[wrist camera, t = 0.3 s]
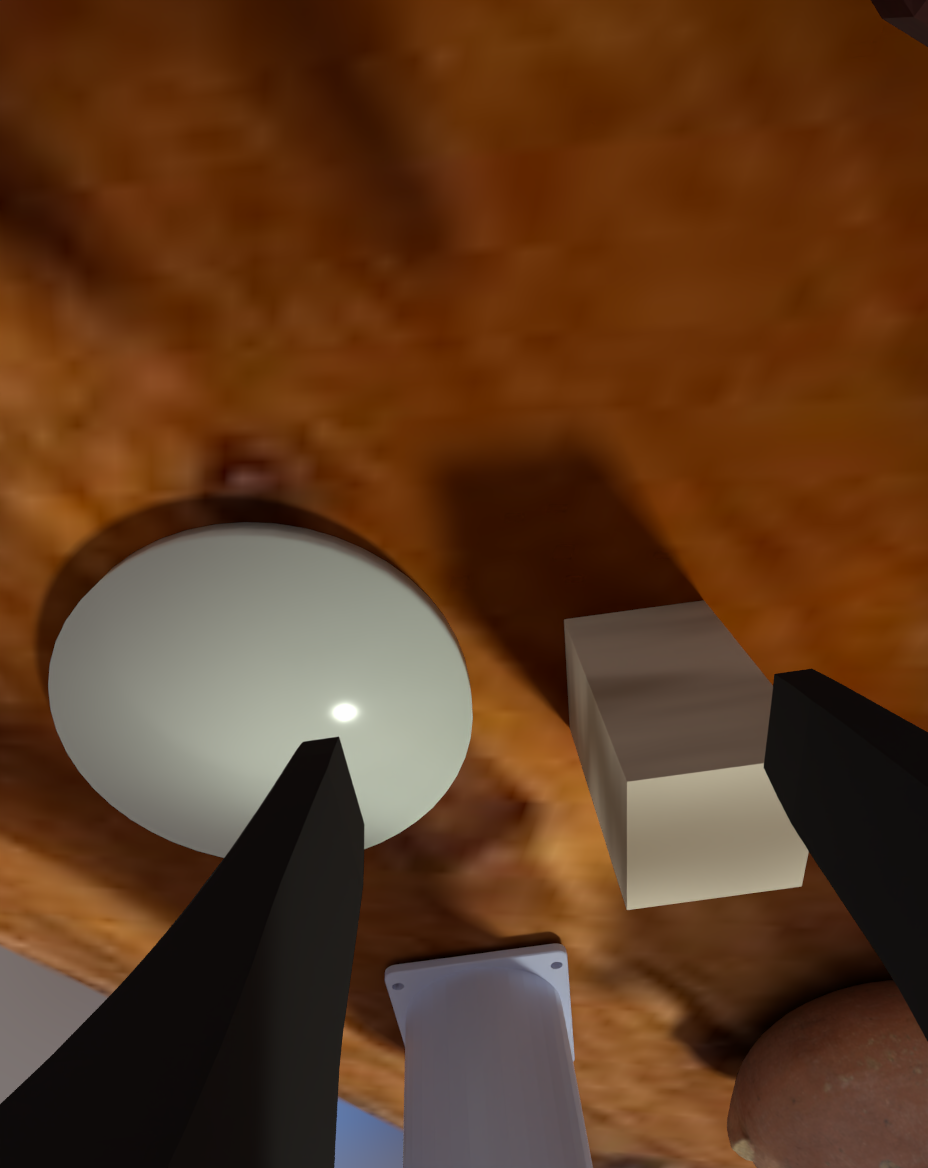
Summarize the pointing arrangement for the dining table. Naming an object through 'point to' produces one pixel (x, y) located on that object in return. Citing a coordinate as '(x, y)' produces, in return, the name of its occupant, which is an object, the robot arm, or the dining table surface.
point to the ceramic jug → (836, 1086)
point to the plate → (257, 680)
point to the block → (678, 755)
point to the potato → (906, 16)
